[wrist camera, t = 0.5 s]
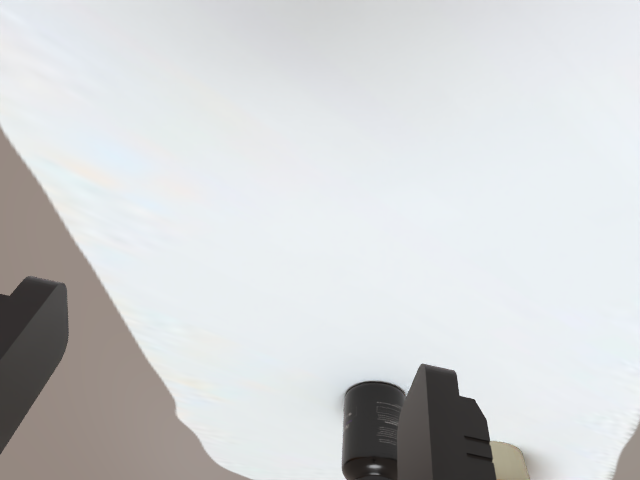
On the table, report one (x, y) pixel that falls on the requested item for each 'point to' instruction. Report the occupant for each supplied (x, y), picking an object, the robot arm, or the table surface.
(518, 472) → the reusable coffee cup
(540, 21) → the table surface
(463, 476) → the robot arm
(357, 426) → the supplement bottle
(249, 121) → the table surface
